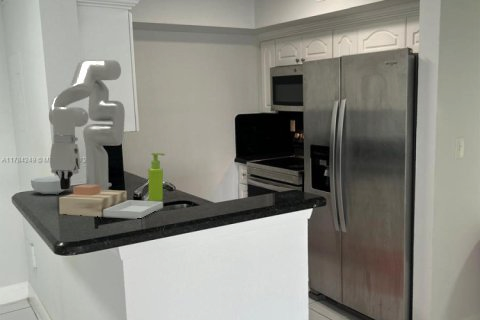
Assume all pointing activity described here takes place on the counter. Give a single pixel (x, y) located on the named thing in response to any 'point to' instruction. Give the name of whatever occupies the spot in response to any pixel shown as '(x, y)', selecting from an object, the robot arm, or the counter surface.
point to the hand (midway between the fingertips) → (65, 188)
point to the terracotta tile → (86, 189)
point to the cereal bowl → (47, 185)
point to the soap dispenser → (156, 180)
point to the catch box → (132, 209)
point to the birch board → (91, 203)
